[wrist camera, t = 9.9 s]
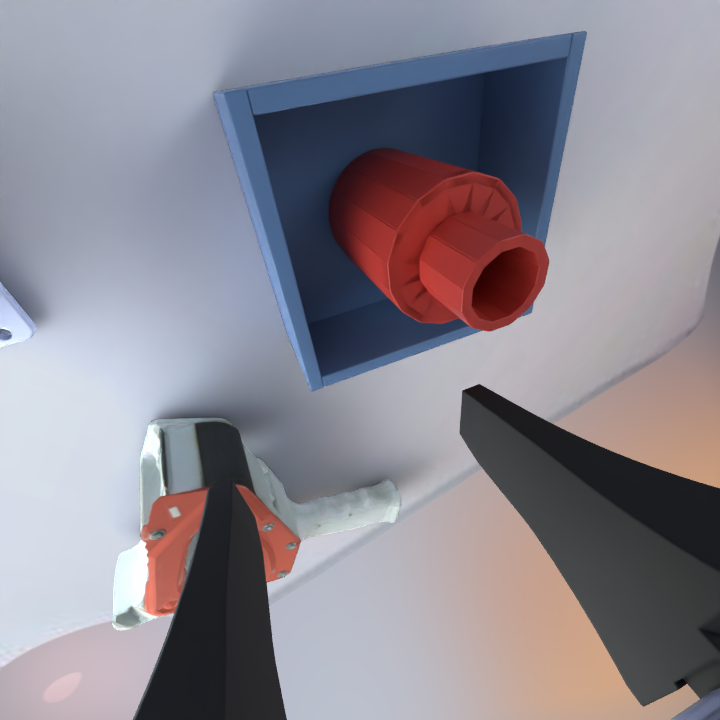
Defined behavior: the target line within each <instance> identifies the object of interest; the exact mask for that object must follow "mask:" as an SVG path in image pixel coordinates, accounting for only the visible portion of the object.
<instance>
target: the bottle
mask: <svg viewBox="0 0 720 720" xmlns="http://www.w3.org/2000/svg"><path fill="white" fill-rule="evenodd" d="M329 222H330V227H331V231H332V233H333V236H334V238H335V240H336V242H337V244H338V245H339V246H340V248H341V249H342V250H343V251H344V253H345V254H346V255H347V256H348V257H349V258H350V259H351V260H352V261H353V262H354V263H355V264H356V265H357V266H358V268H359V269H360V270H361V271H362V272H363V273H364V274H365V275H366V276H367V277H368V278H369V279H370V280H371V281H372V282H373V283H374V284H375V285H376V286H377V287H378V288H379V289H380V290H381V291H382V292H383V293H384V294H385V295H386V296H387V297H388V298H389V299H390V300H391V301H392V302H393V303H394V304H395V305H396V306H397V307H398V308H399V309H400V310H401V311H402V312H403V313H405V314H406V315H408V316H410V317H412V318H413V319H415V320H417V321H418V322H421V323H439V324H442V323H446V322H449V321H452V320H455V319H458V318H460V319H461V320H463V321H464V322H465V323H466V324H467V325H469V326H470V327H471V328H474V329H479V330H484V331H493V330H496V329H498V328H501V327H504V326H507V325H509V324H511V323H512V322H514V321H515V320H516V319H517V318H518V317H519V316H521V315H522V314H523V313H524V312H525V311H527V310H528V309H529V308H530V307H531V305H532V304H533V302H534V300H535V299H536V297H537V296H538V294H539V292H540V291H541V289H542V288H543V286H544V284H545V279H546V275H547V270H548V265H549V258H548V255H547V252H546V250H545V247H544V244H543V242H542V241H541V240H539V239H537V238H534V237H532V236H530V235H527V234H525V233H523V232H521V226H522V224H521V223H522V222H521V218H520V213H519V208H518V204H517V199H516V197H515V196H514V195H513V193H512V192H511V191H510V190H509V189H508V187H507V186H506V185H505V184H504V183H503V182H502V180H501V179H499V178H497V177H493V176H490V175H486V174H483V173H479V172H476V171H472V170H469V169H465V168H461V167H458V166H454V165H451V164H447V163H443V162H440V161H436V160H432V159H429V158H425V157H422V156H418V155H414V154H411V153H407V152H403V151H400V150H396V149H393V148H379V149H374V150H370V151H368V152H365V153H363V154H361V155H360V156H358V157H357V158H355V159H354V160H353V161H352V162H351V163H349V164H348V165H347V167H346V168H345V169H344V170H343V171H342V173H341V174H340V176H339V177H338V179H337V181H336V183H335V185H334V188H333V191H332V194H331V198H330V203H329Z"/></svg>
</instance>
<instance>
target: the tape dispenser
mask: <svg viewBox="0 0 720 720" xmlns="http://www.w3.org/2000/svg"><path fill="white" fill-rule="evenodd" d="M229 480H233V482H234V483H235V485H236V487H237V488H238V490H239V491H240V493H241V495H242V496H243V498H244V500H245V501H246V503H247V504H248V506H249V508H250V509H251V511H252V513H253V514H254V516H255V518H256V522H257V527H258V531H259V536H260V541H261V545H262V550H263V556H264V565H265V574H266V583H267V582H270V581H274V580H277V579H280V578H283V577H285V576H286V575H287V574H289V573H290V572H291V570H292V567H293V564H294V561H295V558H296V555H297V552H298V549H299V545H300V542H301V541H303V540H304V539H306V538H309V537H314V536H320V535H327V534H333V533H338V532H342V531H347V530H351V529H355V528H359V527H363V526H367V525H370V524H374V523H378V522H389V523H394V522H395V521H396V520H397V518H398V515H399V511H400V508H401V501H402V500H401V495H400V492H399V490H398V488H397V486H396V485H395V483H394V482H393V481H391V480H389V479H386V480H384V481H383V482H381V483H380V484H377V485H375V486H371V487H366V488H359V489H356V490H353V491H349V492H341V493H338V494H335V495H332V496H326V497H320V498H317V499H314V500H312V501H309V502H306V503H294V502H292V501H290V500H289V499H288V497H287V496H286V493H285V490H284V487H283V484H282V483H281V482H280V481H279V479H278V478H277V477H276V476H275V475H274V474H273V472H272V471H271V470H270V469H269V468H268V467H267V466H266V464H265V463H264V462H263V461H262V460H261V459H259V458H256V457H255V456H254V455H253V454H252V453H251V452H250V451H249V450H248V449H247V448H246V447H245V446H244V445H243V444H242V441H241V437H240V433H239V431H238V430H237V429H236V428H235V427H234V426H233V425H232V424H231V423H230V422H229V421H228V420H226V419H222V418H181V419H156V420H153V421H151V423H150V424H149V426H148V430H147V434H146V438H145V442H144V446H143V450H142V453H141V456H140V508H141V533H140V537H141V540H140V542H139V543H138V544H137V545H136V546H134V547H133V548H131V549H129V550H126V551H123V552H121V553H120V554H119V558H118V562H117V566H116V569H115V580H114V598H113V621H112V625H113V626H114V627H115V629H116V630H127V629H132V628H136V627H138V626H139V625H140V624H141V623H143V622H146V621H149V620H152V619H155V618H158V617H161V616H165V615H168V614H172V613H175V610H176V607H177V604H178V601H179V598H180V595H181V592H182V589H183V585H184V582H185V579H186V575H187V572H188V568H189V565H190V561H191V558H192V554H193V551H194V547H195V543H196V539H197V535H198V531H199V527H200V523H201V519H202V514H203V509H204V505H205V500H206V494H207V491H208V490H209V488H211V487H213V486H216V485H219V484H221V483H224V482H226V481H229Z"/></svg>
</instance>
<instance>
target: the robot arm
mask: <svg viewBox="0 0 720 720" xmlns="http://www.w3.org/2000/svg"><path fill="white" fill-rule="evenodd" d="M0 329H6V330H8V331H10V332H11V334H12V335H5V334H2V333H1V332H0V347H3V346H7V345H10V344H14V343H18V342H21V341H25V340H28V339H30V338H31V337H32V336H33V335H34V333H35V331H36V326H35V324H34V322H33V321H32V320H31V319H30V317H29V316H28V315H27V314H26V312H25V311H24V310H23V309H22V308H21V306H20V305H19V304H18V303H17V302H16V300H15V299H14V298H13V297H12V296H11V294H10V293H9V292H8V291H7V289H6V288H5V287H4V286H3V285H2V283H1V282H0ZM460 435H461V436H462V438H463V440H464V441H465V443H466V444H467V446H468V448H469V449H470V451H471V452H472V454H473V456H474V457H475V459H476V460H477V462H478V463H479V464H480V465H481V467H482V468H483V469H484V470H485V472H486V473H487V474H488V475H489V477H490V478H491V479H492V480H493V482H494V483H495V484H496V485H497V486H498V487H499V489H500V490H501V492H502V493H503V494H504V495H505V496H506V498H507V499H508V500H509V501H510V502H511V504H512V505H513V506H514V508H516V510H517V511H518V512H519V514H520V515H521V516H522V517H523V519H524V520H525V521H526V523H527V524H528V525H529V527H530V528H531V529H532V531H533V532H534V533H535V535H536V536H537V538H538V539H539V541H540V542H541V544H542V545H543V547H544V548H545V549H546V551H547V553H548V554H549V555H550V557H551V559H552V560H553V561H554V563H555V565H556V566H557V568H558V569H559V571H560V573H561V574H562V576H563V577H564V579H565V580H566V582H567V584H568V585H569V587H570V588H571V590H572V591H573V593H574V595H575V596H576V598H577V600H578V601H579V603H580V605H581V606H582V608H583V609H584V611H585V613H586V614H587V616H588V618H589V619H590V621H591V623H592V624H593V626H594V628H595V629H596V631H597V633H598V634H599V636H600V638H601V640H602V642H603V643H604V645H605V647H606V649H607V650H608V652H609V654H610V656H611V657H612V659H613V661H614V663H615V665H616V666H617V668H618V670H619V672H620V674H621V676H622V678H623V679H624V681H625V683H626V685H627V686H628V688H629V689H630V690H631V692H632V693H633V695H634V696H635V697H636V698H637V700H638V701H639V702H640V704H641V705H642V706H646V705H648V704H650V703H652V702H654V701H656V700H658V699H660V698H662V697H664V696H666V695H668V694H671V693H673V692H674V691H677V690H678V689H680V688H682V687H683V686H684V685H686V684H688V685H689V686H690V687H691V688H692V690H693V691H694V692H695V693H696V694H697V696H698V697H699V698H700V700H698V701H697V702H695V703H694V704H693V705H691V706H690V707H688V708H687V709H685V710H684V711H682V712H681V713H679V714H678V715H676V716H675V717H674V718H672V719H671V720H720V488H716V487H713V486H709V485H706V484H703V483H699V482H696V481H693V480H690V479H687V478H683V477H680V476H677V475H675V474H671V473H668V472H666V471H662V470H660V469H657V468H654V467H651V466H648V465H646V464H643V463H640V462H637V461H635V460H632V459H630V458H627V457H624V456H622V455H620V454H617V453H614V452H612V451H610V450H607V449H605V448H603V447H600V446H598V445H596V444H593V443H591V442H589V441H587V440H585V439H583V438H580V437H578V436H576V435H574V434H572V433H570V432H567V431H566V430H564V429H561V428H560V427H557V426H555V425H554V424H552V423H550V422H548V421H546V420H544V419H542V418H540V417H538V416H536V415H534V414H532V413H531V412H529V411H527V410H525V409H523V408H521V407H520V406H518V405H516V404H514V403H512V402H511V401H509V400H507V399H505V398H503V397H502V396H500V395H498V394H496V393H495V392H493V391H491V390H489V389H487V388H486V387H484V386H482V385H480V384H478V385H476V386H473V387H471V388H468V389H465V390H463V391H462V406H461V421H460ZM133 720H287V719H286V714H285V709H284V704H283V699H282V694H281V688H280V683H279V678H278V673H277V667H276V663H275V656H274V649H273V642H272V632H271V624H270V613H269V603H268V593H267V584H266V574H265V565H264V556H263V550H262V545H261V541H260V536H259V531H258V527H257V522H256V518H255V516H254V514H253V513H252V511H251V509H250V508H249V506H248V504H247V503H246V501H245V500H244V498H243V496H242V495H241V493H240V491H239V490H238V488H237V487H236V485H235V483H234V482H233V480H229V481H226V482H224V483H221V484H219V485H216V486H213V487H211V488H209V490H208V491H207V494H206V500H205V505H204V509H203V514H202V519H201V523H200V527H199V531H198V535H197V539H196V543H195V547H194V551H193V554H192V558H191V561H190V565H189V568H188V572H187V575H186V579H185V582H184V585H183V589H182V592H181V595H180V598H179V601H178V604H177V607H176V610H175V613H174V616H173V619H172V622H171V625H170V628H169V630H168V633H167V636H166V639H165V642H164V644H163V647H162V650H161V652H160V655H159V657H158V660H157V663H156V665H155V668H154V670H153V673H152V675H151V678H150V680H149V683H148V685H147V688H146V690H145V692H144V695H143V697H142V699H141V702H140V704H139V706H138V709H137V711H136V713H135V716H134V718H133Z"/></svg>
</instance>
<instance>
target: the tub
mask: <svg viewBox="0 0 720 720" xmlns="http://www.w3.org/2000/svg"><path fill="white" fill-rule="evenodd" d="M586 35H587V32H586V31H581V32H574V33H568V34H561V35H555V36H548V37H541V38H535V39H528V40H522V41H515V42H508V43H502V44H495V45H489V46H483V47H477V48H471V49H465V50H459V51H453V52H447V53H441V54H435V55H429V56H423V57H417V58H411V59H405V60H400V61H394V62H388V63H382V64H376V65H370V66H364V67H358V68H352V69H346V70H340V71H334V72H328V73H322V74H316V75H310V76H304V77H299V78H293V79H287V80H281V81H275V82H269V83H263V84H257V85H251V86H245V87H239V88H233V89H227V90H221V91H215V92H213V96H214V100H215V103H216V106H217V109H218V113H219V116H220V119H221V122H222V125H223V129H224V132H225V135H226V138H227V142H228V145H229V148H230V151H231V154H232V158H233V161H234V164H235V167H236V171H237V174H238V177H239V180H240V183H241V187H242V190H243V193H244V196H245V200H246V203H247V206H248V209H249V212H250V216H251V219H252V222H253V225H254V229H255V232H256V235H257V238H258V241H259V245H260V248H261V251H262V254H263V258H264V261H265V264H266V267H267V270H268V274H269V277H270V280H271V283H272V287H273V290H274V293H275V296H276V299H277V303H278V306H279V309H280V312H281V316H282V319H283V322H284V325H285V329H286V332H287V335H288V337H289V339H290V342H291V344H292V347H293V349H294V351H295V354H296V356H297V359H298V361H299V363H300V366H301V368H302V370H303V373H304V375H305V378H306V380H307V382H308V385H309V387H310V390H311V391H314V390H317V389H320V388H323V387H324V386H328V385H331V384H333V383H336V382H339V381H342V380H345V379H347V378H350V377H353V376H356V375H359V374H361V373H364V372H367V371H370V370H373V369H376V368H378V367H381V366H384V365H387V364H390V363H392V362H395V361H398V360H401V359H404V358H406V357H409V356H412V355H415V354H418V353H421V352H423V351H426V350H429V349H432V348H435V347H437V346H440V345H443V344H446V343H449V342H451V341H454V340H457V339H460V338H463V337H466V336H468V335H471V334H474V333H477V332H480V331H482V330H479V329H474V328H471V327H470V326H469V325H467V324H466V323H465V322H464V321H463V320H461V319H460V318H458V319H455V320H452V321H449V322H446V323H442V324H439V323H421V322H418V321H417V320H415V319H413V318H412V317H410V316H408V315H406V314H405V313H403V312H402V311H401V310H400V309H399V308H398V307H397V306H396V305H395V304H394V303H393V302H392V301H391V300H390V299H389V298H388V297H387V296H386V295H385V294H384V293H383V292H382V291H381V290H380V289H379V288H378V287H377V286H376V285H375V284H374V283H373V282H372V281H371V280H370V279H369V278H368V277H367V276H366V275H365V274H364V273H363V272H362V271H361V270H360V269H359V268H358V266H357V265H356V264H355V263H354V262H353V261H352V260H351V259H350V258H349V257H348V256H347V255H346V254H345V253H344V251H343V250H342V249H341V248H340V246H339V245H338V244H337V242H336V240H335V238H334V236H333V233H332V231H331V227H330V222H329V203H330V198H331V194H332V191H333V188H334V185H335V183H336V181H337V179H338V177H339V176H340V174H341V173H342V171H343V170H344V169H345V168H346V167H347V165H348V164H349V163H351V162H352V161H353V160H354V159H355V158H357V157H358V156H360V155H361V154H363V153H365V152H368V151H370V150H374V149H379V148H393V149H396V150H400V151H403V152H407V153H411V154H414V155H418V156H422V157H425V158H429V159H432V160H436V161H440V162H443V163H447V164H451V165H454V166H458V167H461V168H465V169H469V170H472V171H476V172H479V173H483V174H486V175H490V176H493V177H497V178H499V179H501V180H502V182H503V183H504V184H505V185H506V186H507V187H508V189H509V190H510V191H511V192H512V193H513V195H514V196H515V197H516V199H517V204H518V208H519V213H520V218H521V222H522V223H521V224H522V226H521V232H523V233H525V234H527V235H530V236H532V237H534V238H537V239H539V240H541V241H542V242H543V244H544V247H545V242H546V237H547V232H548V227H549V222H550V217H551V212H552V207H553V202H554V197H555V192H556V187H557V182H558V176H559V171H560V166H561V161H562V156H563V151H564V146H565V141H566V136H567V131H568V126H569V121H570V116H571V111H572V105H573V100H574V95H575V90H576V85H577V80H578V75H579V70H580V65H581V60H582V55H583V50H584V45H585V40H586ZM533 303H534V302H533ZM532 308H533V304H532V305H531V307H530V308H529V309H528V310H527V311H525V312H524V313H523V314H522V315H521V316H525V315H527V314H530V313H532ZM521 316H519V317H521ZM519 317H518V318H519Z"/></svg>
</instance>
